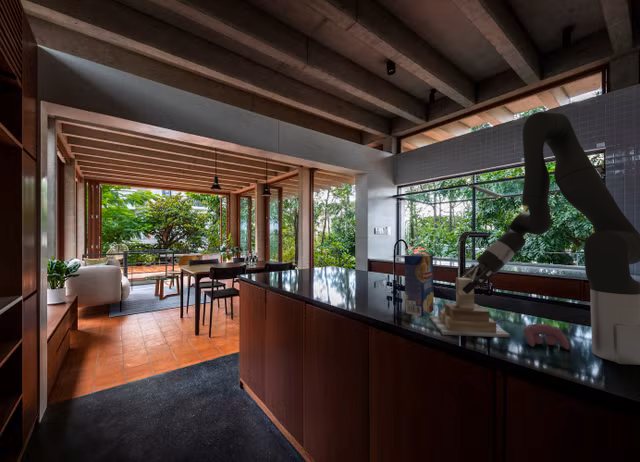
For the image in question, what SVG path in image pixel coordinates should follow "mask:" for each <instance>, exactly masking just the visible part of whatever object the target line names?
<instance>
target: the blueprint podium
mask: <svg viewBox="0 0 640 462" xmlns="http://www.w3.org/2000/svg"><path fill="white" fill-rule="evenodd" d="M443 306H444V309H438V310H439V313H438V316H435V315H434V316H433V315H430V316H429V319H430V320H431V322H432V323H433V324H434V325H435V327H436V328H437V329H438V331H439V332H440V333H441V334H442V335H445V336H447V335H450V336H469V337H470V336H471V337H491V338H492V337H493V338H510V336H511V334H510V333H509V332H507V331H505V330H503V328H501V327H499V326H498V325H497V322H496V321H494V320H493V319H492V318H490V311H488V309H486V308H484V307H482V306H481V305H478V304H477V303H474V309H466V308H459V307H458V306H457V305H456V303H455V302H453V303H451V302H444V303H443Z"/></svg>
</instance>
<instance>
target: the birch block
mask: <svg viewBox="0 0 640 462" xmlns="http://www.w3.org/2000/svg"><path fill="white" fill-rule="evenodd" d="M471 280H472V279H471V278H462V277H455V284H456V286H455V299H456V300H455V301H456V305H457V306H458V307H459V308H466V309H474V304H475V288H474V289H473V290H472V291H471V292H470V293H468V294H466V293H465V292H464V291H463V290H462V289H463V288H464V287H465V286H466V285H467V284H468V283H469V282H471Z"/></svg>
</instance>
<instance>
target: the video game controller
mask: <svg viewBox="0 0 640 462" xmlns="http://www.w3.org/2000/svg"><path fill="white" fill-rule="evenodd" d="M523 333H524V336H525V338H526V342H527V343H528V345H529V346H531V347H532V348H534V347H536V346H535V345H536V344H537V345H541V344H543V343H544V340H545V343H546V344H547V345H549V346H553V345H554V346H555V344H556V343H557V342H559V344H560V345H561V347H562V348H563V349H566V350H569V349H570V343H569V341H568V339H567V338H566V336H565V334H564V332H563V331H562V330H561V329H560V328H558V326H556V325H555V326H554V325H550V324H546V323H545V324H544V323H534V324H528V325H526V326H525V327H524V328H523ZM541 335H544V336H546V337H545V339H543V337H542V336H541Z"/></svg>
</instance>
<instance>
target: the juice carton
mask: <svg viewBox="0 0 640 462" xmlns="http://www.w3.org/2000/svg"><path fill="white" fill-rule="evenodd" d="M403 260H404V266H403V267H404V313H405V314H409V315H413V316H418V317H424V316H426V315H429V314H430V313H432V312H434V310H435V309H434V308H435V306H434V304H435V301H434V297H435V296H434V255H433V254H419V253H418V254H416V253H414V254H406V255H404V259H403Z"/></svg>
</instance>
